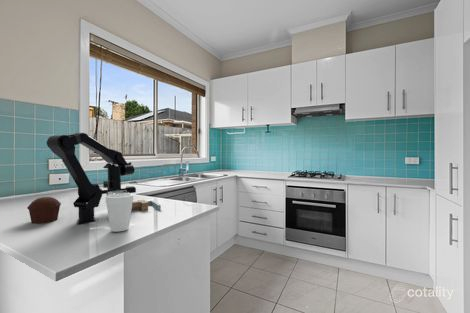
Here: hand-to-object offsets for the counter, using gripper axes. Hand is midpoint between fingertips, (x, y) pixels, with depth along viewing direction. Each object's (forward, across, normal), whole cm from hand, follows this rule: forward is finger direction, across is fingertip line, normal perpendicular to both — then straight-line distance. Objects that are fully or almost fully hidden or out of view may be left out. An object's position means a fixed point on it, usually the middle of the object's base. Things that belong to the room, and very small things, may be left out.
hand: (114, 208), depth 110 cm
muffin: (+2, +27, -3) cm, 27 cm away
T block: (+3, -10, 0) cm, 10 cm away
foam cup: (+2, +2, +28) cm, 29 cm away
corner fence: (+3, -16, 0) cm, 16 cm away
